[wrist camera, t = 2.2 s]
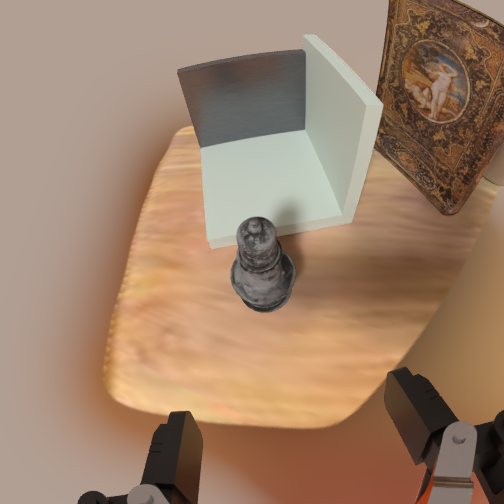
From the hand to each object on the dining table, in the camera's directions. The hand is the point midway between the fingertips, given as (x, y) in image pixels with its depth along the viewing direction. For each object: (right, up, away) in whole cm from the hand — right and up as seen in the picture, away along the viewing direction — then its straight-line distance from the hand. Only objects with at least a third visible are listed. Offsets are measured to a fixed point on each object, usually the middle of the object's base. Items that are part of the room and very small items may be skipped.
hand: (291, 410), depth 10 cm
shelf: (+1, +15, +26) cm, 30 cm away
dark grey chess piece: (0, +3, +19) cm, 20 cm away
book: (+21, +17, +25) cm, 37 cm away
